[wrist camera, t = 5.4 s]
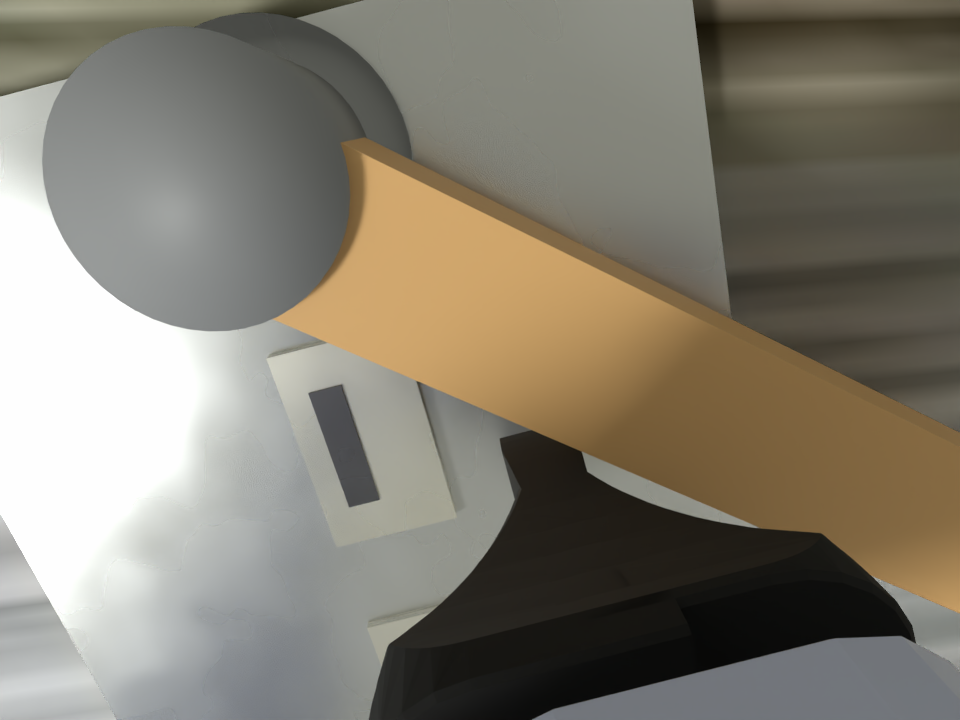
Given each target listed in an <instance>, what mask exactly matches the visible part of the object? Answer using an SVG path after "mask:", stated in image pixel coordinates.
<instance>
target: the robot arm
mask: <svg viewBox="0 0 960 720" xmlns="http://www.w3.org/2000/svg"><path fill="white" fill-rule="evenodd" d="M500 445H501V450H502V454H503V458H504V462H505V465H506V469H507V473H508V476H509V480H510V484H511V488H512V491H513V495H514V499H515V500H514V502H513V505H512V507H511V510H510V512H509V514H508V516H507V518H506V520H505V522H504V524H503V526H502V528H501V530H500V532H499V533H498V535H497V537H496V538H495V540H494V542H493V544H492V545H491V547H490V548H489V550H488V551H487V552H486V554H485V555H484V557H483V558H482V559H481V560H480V562H479V563H478V564H477V566H476V567H475V568H474V570H473V571H472V572H471V573H470V574H469V575H468V577H467V578H466V579H465V580H464V581H463V582H462V583H461V584H460V585H459V586H458V587H457V588H456V589H455V590H454V591H453V592H452V593H451V594H450V595H449V596H448V597H447V598H446V599H445V600H444V601H443V602H442V603H441V604H440V605H438V606H437V607H436V608H435V609H434V610H433V611H432V612H430V613H429V614H428V615H427V616H425V617H424V618H423V619H421V620H420V621H419V622H418V623H416V624H415V625H414V626H412V627H411V628H410V629H409V630H407V631H406V632H405V633H403V634H402V635H401V636H400V637H398V638H397V639H395V640H394V641H392V642H391V643H390V644H389V645H388V647H387V650H386V653H385V657H384V660H383V663H382V667H381V671H380V674H379V678H378V681H377V685H376V690H375V694H374V697H373V701H372V705H371V710H370V715H369V720H960V672H959V671H958V670H957V669H956V668H955V667H954V666H953V665H952V663H951V662H950V661H948V660H946V659H944V658H942V657H940V656H938V655H936V654H935V653H933V652H931V651H929V650H927V649H925V648H923V647H921V646H919V645H917V644H916V642H915V637H914V633H913V628H912V625H911V623H910V622H909V620H908V618H907V617H906V615H905V614H904V612H903V611H902V609H901V608H900V606H899V605H898V603H897V601H896V600H895V599H894V598H893V597H892V596H891V595H890V594H889V593H888V592H887V591H886V590H885V589H884V588H883V587H882V586H881V585H880V584H879V583H878V582H877V581H876V580H875V579H874V578H873V577H872V576H871V575H870V574H869V573H868V572H867V571H865V570H864V569H863V568H862V567H861V566H860V565H859V564H858V563H857V562H856V561H855V560H853V559H852V558H851V557H850V556H849V555H847V554H846V553H845V552H844V551H842V550H841V549H840V548H839V547H837V546H836V545H835V544H834V543H832V542H831V541H830V540H829V539H828V538H827V537H826V536H824V535H823V534H822V533H813V532H800V531H787V530H774V529H761V528H752V527H746V526H740V525H734V524H728V523H722V522H716V521H712V520H707V519H703V518H698V517H694V516H691V515H687V514H684V513H680V512H677V511H673V510H670V509H666V508H663V507H660V506H657V505H654V504H652V503H649V502H646V501H644V500H642V499H639V498H637V497H634V496H632V495H630V494H627V493H625V492H623V491H621V490H618V489H616V488H614V487H612V486H610V485H609V484H607V483H605V482H604V481H602V480H600V479H598V478H597V477H595V476H594V475H592V474H590V473H589V472H587V469H586V465H585V462H584V458H583V454H582V451H579V450H577V449H575V448H572V447H570V446H568V445H565V444H563V443H561V442H558V441H556V440H554V439H551V438H549V437H547V436H544V435H542V434H540V433H537V432H535V431H533V430H530V431H526V432H522V433H518V434H514V435H510V436H506V437H503V438H500Z"/></svg>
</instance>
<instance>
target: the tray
mask: <svg viewBox="0 0 960 720" xmlns="http://www.w3.org/2000/svg"><path fill="white" fill-rule="evenodd" d="M194 28H200V29H207V30H211V31H215V32H218V33H222V34H225V35H229V36H232V37H234V38H236V39H239V40H241V41H243V42H246V43H248V44H251V45H253V46H255V47H258V48H260V49H262V50H265V51H267V52H270V53H272V54H274V55H277V56H279V57H282V58H284V59H286V60H289V61H291V62H293V63H296V64H298V65H300V66H303V67H305V68H307V69H309V70H310V71H312V72H314V73H315V74H317V75H319V76H320V77H321V78H323V79H324V80H325V81H327V82H328V83H329V84H331V85H332V86H333V87H334V88H335V89H336V90H337V91H338V92H339V93H340V94H341V95H342V96H343V98H344V99H345V100H346V101H347V103H348V104H349V105H350V106H351V108H352V109H353V111H354V113H355V114H356V116H357V118H358V119H359V121H360V123H361V125H362V128H363V130H364V132H365V134H366V138H367V139H369V140H372V141H374V142H376V143H378V144H380V145H382V146H384V147H386V148H388V149H390V150H392V151H394V152H396V153H398V154H400V155H402V156H404V157H406V158H408V159H410V160H412V161H414V162H416V163H418V164H420V165H422V166H424V167H426V168H428V169H430V170H432V171H434V172H436V173H438V174H440V175H442V176H444V177H446V178H448V179H450V180H452V181H454V182H456V183H458V184H460V185H462V186H464V187H466V188H468V189H470V190H472V191H474V192H476V193H478V194H480V195H482V196H484V197H486V198H488V199H490V200H492V201H494V202H496V203H498V204H500V205H502V206H504V207H506V208H508V209H510V210H512V211H514V212H516V213H518V214H520V215H522V216H524V217H527V218H529V219H531V220H533V221H535V222H537V223H539V224H541V225H543V226H545V227H547V228H549V229H551V230H553V231H555V232H557V233H559V234H561V235H563V236H565V237H567V238H569V239H571V240H573V241H575V242H577V243H579V244H581V245H583V246H585V247H587V248H589V249H591V250H593V251H595V252H597V253H599V254H601V255H603V256H605V257H607V258H609V259H611V260H613V261H615V262H617V263H619V264H621V265H623V266H625V267H627V268H629V269H631V270H633V271H635V272H637V273H639V274H641V275H643V276H645V277H647V278H649V279H651V280H653V281H655V282H657V283H659V284H661V285H663V286H665V287H667V288H669V289H671V290H673V291H675V292H677V293H679V294H682V295H684V296H686V297H688V298H690V299H692V300H694V301H696V302H698V303H700V304H702V305H704V306H706V307H708V308H710V309H712V310H714V311H716V312H718V313H720V314H722V315H724V316H726V317H728V318H730V319H732V317H731V309H730V301H729V293H728V285H727V277H726V269H725V260H724V252H723V244H722V236H721V228H720V220H719V212H718V204H717V196H716V188H715V179H714V171H713V163H712V155H711V147H710V139H709V131H708V123H707V115H706V107H705V98H704V90H703V82H702V74H701V66H700V58H699V50H698V42H697V34H696V26H695V17H694V9H693V1H692V0H363V1H359V2H355V3H352V4H348V5H344V6H340V7H337V8H333V9H329V10H325V11H322V12H318V13H314V14H310V15H306V16H303V17H299V18H292V17H287V16H283V15H279V14H269V13H239V14H234V15H228V16H223V17H219V18H216V19H213V20H210V21H207V22H204V23H202V24H200V25H198V26H196V27H194ZM67 80H68V79H65V80H61V81H57V82H54V83H50V84H46V85H42V86H39V87H35V88H31V89H27V90H23V91H20V92H16V93H12V94H8V95H5V96H1V97H0V513H1V515H2V516H3V518H4V520H5V522H6V524H7V525H8V527H9V529H10V531H11V532H12V534H13V536H14V538H15V540H16V541H17V543H18V545H19V547H20V548H21V550H22V552H23V554H24V556H25V557H26V559H27V561H28V563H29V564H30V566H31V568H32V570H33V572H34V573H35V575H36V577H37V579H38V580H39V582H40V584H41V586H42V588H43V589H44V591H45V593H46V595H47V596H48V598H49V600H50V602H51V604H52V605H53V607H54V609H55V611H56V612H57V614H58V616H59V618H60V620H61V621H62V623H63V625H64V627H65V629H66V630H67V632H68V634H69V636H70V637H71V639H72V641H73V643H74V645H75V646H76V648H77V650H78V652H79V653H80V655H81V657H82V659H83V661H84V662H85V664H86V666H87V668H88V669H89V671H90V673H91V675H92V677H93V678H94V680H95V682H96V684H97V685H98V687H99V689H100V691H101V693H102V694H103V696H104V698H105V700H106V701H107V703H108V705H109V707H110V709H111V710H112V712H113V714H114V716H115V717H116V719H117V720H369V715H370V710H371V705H372V701H373V697H374V694H375V690H376V685H377V681H378V678H379V674H380V671H381V667H382V663H383V660H384V657H385V653H386V650H387V647H388V645H389V644H390V643H391V642H392V641H394V640H395V639H397V638H398V637H400V636H401V635H402V634H403V633H405V632H406V631H407V630H409V629H410V628H411V627H412V626H414V625H415V624H416V623H418V622H419V621H420V620H421V619H423V618H424V617H425V616H427V615H428V614H429V613H430V612H432V611H433V610H434V609H435V608H436V607H437V606H438V605H440V604H441V603H442V602H443V601H444V600H445V599H446V598H447V597H448V596H449V595H450V594H451V593H452V592H453V591H454V590H455V589H456V588H457V587H458V586H459V585H460V584H461V583H462V582H463V581H464V580H465V579H466V578H467V577H468V575H469V574H470V573H471V572H472V571H473V570H474V568H475V567H476V566H477V564H478V563H479V562H480V560H481V559H482V558H483V557H484V555H485V554H486V552H487V551H488V550H489V548H490V547H491V545H492V544H493V542H494V540H495V538H496V537H497V535H498V533H499V532H500V530H501V528H502V526H503V524H504V522H505V520H506V518H507V516H508V514H509V512H510V510H511V507H512V505H513V502H514V500H515V499H514V495H513V491H512V488H511V484H510V480H509V476H508V473H507V469H506V465H505V462H504V458H503V454H502V450H501V445H500V438H503V437H506V436H510V435H514V434H518V433H522V432H526V431H530V429H528V428H526V427H523V426H521V425H519V424H516V423H514V422H512V421H509V420H507V419H505V418H502V417H500V416H498V415H495V414H493V413H491V412H488V411H486V410H484V409H481V408H479V407H477V406H474V405H472V404H470V403H467V402H465V401H463V400H460V399H458V398H456V397H453V396H451V395H449V394H446V393H444V392H442V391H439V390H437V389H435V388H432V387H430V386H428V385H425V384H423V383H421V382H418V381H416V380H414V379H411V378H409V377H407V376H404V375H402V374H400V373H397V372H395V371H393V370H390V369H388V368H386V367H383V366H381V365H379V364H376V363H374V362H372V361H369V360H367V359H365V358H362V357H360V356H358V355H355V354H353V353H351V352H348V351H346V350H344V349H341V348H339V347H336V346H334V345H332V344H329V343H327V342H325V341H322V340H320V339H318V338H315V337H313V336H311V335H308V334H306V333H304V332H301V331H299V330H297V329H294V328H292V327H290V326H287V325H285V324H283V323H280V322H278V321H276V320H273V319H271V320H269V321H267V322H264V323H262V324H259V325H255V326H252V327H248V328H244V329H237V330H231V331H199V330H189V329H185V328H180V327H176V326H171V325H168V324H165V323H163V322H160V321H157V320H154V319H151V318H149V317H147V316H145V315H143V314H141V313H139V312H137V311H135V310H133V309H132V308H130V307H128V306H127V305H125V304H124V303H122V302H120V301H119V300H117V299H116V298H115V297H114V296H112V295H111V294H110V293H109V292H107V291H106V290H105V289H103V288H102V287H101V286H100V285H99V284H98V283H97V282H96V281H95V280H94V279H93V278H92V277H91V276H90V275H89V274H88V273H87V272H86V271H85V269H84V268H83V267H82V266H81V264H80V263H79V262H78V261H77V259H76V258H75V257H74V255H73V254H72V252H71V251H70V249H69V248H68V246H67V244H66V243H65V241H64V240H63V238H62V236H61V233H60V231H59V229H58V227H57V225H56V223H55V221H54V218H53V215H52V212H51V209H50V206H49V204H48V200H47V195H46V191H45V186H44V181H43V168H42V152H43V139H44V134H45V129H46V124H47V120H48V117H49V115H50V112H51V109H52V106H53V104H54V101H55V99H56V98H57V96H58V94H59V92H60V90H61V88H62V87H63V85H64V83H65V82H66V81H67ZM582 454H583V458H584V462H585V465H586V469H587V472H589V473H590V474H592V475H594V476H595V477H597V478H598V479H600V480H602V481H604V482H605V483H607V484H609V485H610V486H612V487H614V488H616V489H618V490H621V491H623V492H625V493H627V494H630V495H632V496H634V497H637V498H639V499H642V500H644V501H646V502H649V503H652V504H654V505H657V506H660V507H663V508H666V509H670V510H673V511H677V512H680V513H684V514H687V515H691V516H694V517H698V518H703V519H707V520H712V521H716V522H722V523H728V524H734V525H740V526H746V527H752V528H757V526H754V525H752V524H750V523H747V522H745V521H743V520H740V519H738V518H736V517H733V516H731V515H729V514H726V513H724V512H722V511H719V510H717V509H715V508H712V507H710V506H708V505H705V504H703V503H701V502H698V501H696V500H694V499H691V498H689V497H687V496H684V495H682V494H680V493H677V492H675V491H673V490H670V489H668V488H666V487H663V486H661V485H659V484H656V483H654V482H652V481H649V480H647V479H645V478H642V477H640V476H638V475H635V474H633V473H631V472H628V471H626V470H624V469H621V468H619V467H617V466H614V465H612V464H610V463H607V462H605V461H603V460H600V459H598V458H596V457H593V456H591V455H589V454H586V453H584V452H582Z"/></svg>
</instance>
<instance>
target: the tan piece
mask: <svg viewBox="0 0 960 720" xmlns="http://www.w3.org/2000/svg"><path fill="white" fill-rule="evenodd" d="M42 168H43V181H44V186H45V191H46V195H47V200H48V204H49V206H50V209H51V212H52V215H53V218H54V221H55V223H56V225H57V227H58V229H59V231H60V233H61V236H62V238H63V240H64V241H65V243H66V244H67V246H68V248H69V249H70V251H71V252H72V254H73V255H74V257H75V258H76V259H77V261H78V262H79V263H80V264H81V266H82V267H83V268H84V269H85V271H86V272H87V273H88V274H89V275H90V276H91V277H92V278H93V279H94V280H95V281H96V282H97V283H98V284H99V285H100V286H101V287H102V288H103V289H105V290H106V291H107V292H109V293H110V294H111V295H112V296H114V297H115V298H116V299H117V300H119V301H120V302H122V303H124V304H125V305H127V306H128V307H130V308H132V309H133V310H135V311H137V312H139V313H141V314H143V315H145V316H147V317H149V318H151V319H154V320H157V321H160V322H163V323H165V324H168V325H171V326H176V327H180V328H185V329H189V330H199V331H231V330H237V329H244V328H248V327H252V326H255V325H259V324H262V323H264V322H267V321H269V320H271V319H273V320H276V321H278V322H280V323H283V324H285V325H287V326H290V327H292V328H294V329H297V330H299V331H301V332H304V333H306V334H308V335H311V336H313V337H315V338H318V339H320V340H322V341H325V342H327V343H329V344H332V345H334V346H336V347H339V348H341V349H344V350H346V351H348V352H351V353H353V354H355V355H358V356H360V357H362V358H365V359H367V360H369V361H372V362H374V363H376V364H379V365H381V366H383V367H386V368H388V369H390V370H393V371H395V372H397V373H400V374H402V375H404V376H407V377H409V378H411V379H414V380H416V381H418V382H421V383H423V384H425V385H428V386H430V387H432V388H435V389H437V390H439V391H442V392H444V393H446V394H449V395H451V396H453V397H456V398H458V399H460V400H463V401H465V402H467V403H470V404H472V405H474V406H477V407H479V408H481V409H484V410H486V411H488V412H491V413H493V414H495V415H498V416H500V417H502V418H505V419H507V420H509V421H512V422H514V423H516V424H519V425H521V426H523V427H526V428H528V429H530V430H533V431H535V432H537V433H540V434H542V435H544V436H547V437H549V438H551V439H554V440H556V441H558V442H561V443H563V444H565V445H568V446H570V447H572V448H575V449H577V450H579V451H582V452H584V453H586V454H589V455H591V456H593V457H596V458H598V459H600V460H603V461H605V462H607V463H610V464H612V465H614V466H617V467H619V468H621V469H624V470H626V471H628V472H631V473H633V474H635V475H638V476H640V477H642V478H645V479H647V480H649V481H652V482H654V483H656V484H659V485H661V486H663V487H666V488H668V489H670V490H673V491H675V492H677V493H680V494H682V495H684V496H687V497H689V498H691V499H694V500H696V501H698V502H701V503H703V504H705V505H708V506H710V507H712V508H715V509H717V510H719V511H722V512H724V513H726V514H729V515H731V516H733V517H736V518H738V519H740V520H743V521H745V522H747V523H750V524H752V525H754V526H757V527H759V528H761V529H774V530H787V531H800V532H813V533H822V534H823V535H824V536H826V537H827V538H828V539H829V540H830V541H831V542H832V543H834V544H835V545H836V546H837V547H839V548H840V549H841V550H842V551H844V552H845V553H846V554H847V555H849V556H850V557H851V558H852V559H853V560H855V561H856V562H857V563H858V564H859V565H860V566H861V567H862V568H863V569H864V570H865V571H867V572H868V573H869V574H870V575H871V576H874V577H876V578H878V579H881V580H883V581H885V582H888V583H890V584H892V585H895V586H897V587H899V588H902V589H904V590H906V591H909V592H911V593H913V594H916V595H918V596H920V597H923V598H925V599H927V600H930V601H932V602H934V603H937V604H939V605H941V606H944V607H946V608H948V609H951V610H953V611H955V612H958V613H960V433H959V432H957V431H955V430H953V429H951V428H949V427H947V426H945V425H943V424H941V423H939V422H937V421H935V420H933V419H931V418H929V417H927V416H925V415H923V414H921V413H919V412H917V411H915V410H913V409H911V408H909V407H907V406H905V405H903V404H901V403H899V402H897V401H895V400H893V399H891V398H889V397H887V396H885V395H883V394H881V393H879V392H877V391H875V390H873V389H871V388H869V387H867V386H865V385H863V384H861V383H859V382H857V381H855V380H853V379H851V378H849V377H847V376H845V375H843V374H841V373H839V372H837V371H834V370H832V369H830V368H828V367H826V366H824V365H822V364H820V363H818V362H816V361H814V360H812V359H810V358H808V357H806V356H804V355H802V354H800V353H798V352H796V351H794V350H792V349H790V348H788V347H786V346H784V345H782V344H780V343H778V342H776V341H774V340H772V339H770V338H768V337H766V336H764V335H762V334H760V333H758V332H756V331H754V330H752V329H750V328H748V327H746V326H744V325H742V324H740V323H738V322H736V321H734V320H732V319H730V318H728V317H726V316H724V315H722V314H720V313H718V312H716V311H714V310H712V309H710V308H708V307H706V306H704V305H702V304H700V303H698V302H696V301H694V300H692V299H690V298H688V297H686V296H684V295H682V294H679V293H677V292H675V291H673V290H671V289H669V288H667V287H665V286H663V285H661V284H659V283H657V282H655V281H653V280H651V279H649V278H647V277H645V276H643V275H641V274H639V273H637V272H635V271H633V270H631V269H629V268H627V267H625V266H623V265H621V264H619V263H617V262H615V261H613V260H611V259H609V258H607V257H605V256H603V255H601V254H599V253H597V252H595V251H593V250H591V249H589V248H587V247H585V246H583V245H581V244H579V243H577V242H575V241H573V240H571V239H569V238H567V237H565V236H563V235H561V234H559V233H557V232H555V231H553V230H551V229H549V228H547V227H545V226H543V225H541V224H539V223H537V222H535V221H533V220H531V219H529V218H527V217H524V216H522V215H520V214H518V213H516V212H514V211H512V210H510V209H508V208H506V207H504V206H502V205H500V204H498V203H496V202H494V201H492V200H490V199H488V198H486V197H484V196H482V195H480V194H478V193H476V192H474V191H472V190H470V189H468V188H466V187H464V186H462V185H460V184H458V183H456V182H454V181H452V180H450V179H448V178H446V177H444V176H442V175H440V174H438V173H436V172H434V171H432V170H430V169H428V168H426V167H424V166H422V165H420V164H418V163H416V162H414V161H412V160H410V159H408V158H406V157H404V156H402V155H400V154H398V153H396V152H394V151H392V150H390V149H388V148H386V147H384V146H382V145H380V144H378V143H376V142H374V141H372V140H369V139H367V138H366V134H365V132H364V130H363V128H362V125H361V123H360V121H359V119H358V118H357V116H356V114H355V113H354V111H353V109H352V108H351V106H350V105H349V104H348V103H347V101H346V100H345V99H344V98H343V96H342V95H341V94H340V93H339V92H338V91H337V90H336V89H335V88H334V87H333V86H332V85H331V84H329V83H328V82H327V81H325V80H324V79H323V78H321V77H320V76H319V75H317V74H315V73H314V72H312V71H310V70H309V69H307V68H305V67H303V66H300V65H298V64H296V63H293V62H291V61H289V60H286V59H284V58H282V57H279V56H277V55H274V54H272V53H270V52H267V51H265V50H262V49H260V48H258V47H255V46H253V45H251V44H248V43H246V42H243V41H241V40H239V39H236V38H234V37H232V36H229V35H225V34H222V33H218V32H215V31H211V30H207V29H200V28H193V27H173V26H166V27H158V28H151V29H145V30H141V31H138V32H134V33H131V34H128V35H125V36H122V37H120V38H118V39H116V40H114V41H112V42H110V43H108V44H106V45H104V46H103V47H102V48H100V49H99V50H97V51H96V52H94V53H93V54H91V55H90V56H89V57H88V58H87V59H86V60H85V61H84V62H82V63H81V64H80V65H79V66H78V67H77V68H76V69H75V70H74V72H73V73H72V74H71V76H70V77H69V78H68V80H67V81H66V82H65V83H64V85H63V87H62V88H61V90H60V92H59V94H58V96H57V98H56V99H55V101H54V104H53V106H52V109H51V112H50V115H49V117H48V120H47V124H46V129H45V134H44V139H43V152H42Z"/></svg>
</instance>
